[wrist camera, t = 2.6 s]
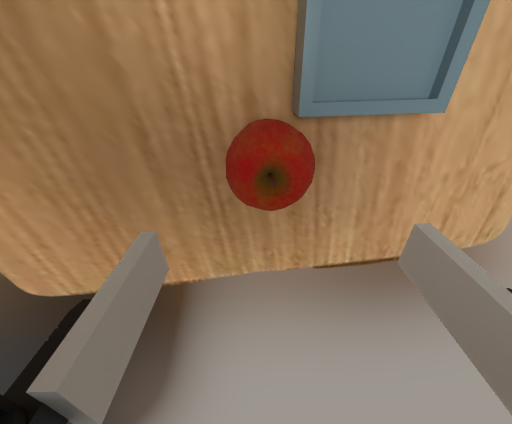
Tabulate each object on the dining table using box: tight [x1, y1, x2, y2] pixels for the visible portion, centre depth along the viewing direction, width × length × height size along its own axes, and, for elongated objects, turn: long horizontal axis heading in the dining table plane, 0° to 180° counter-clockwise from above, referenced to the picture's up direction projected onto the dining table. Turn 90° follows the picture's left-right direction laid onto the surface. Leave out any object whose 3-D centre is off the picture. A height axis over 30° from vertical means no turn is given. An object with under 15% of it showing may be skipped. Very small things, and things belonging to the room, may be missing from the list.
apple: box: [226, 119, 315, 211], centre depth 22 cm, size 9×8×11 cm
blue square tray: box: [292, 0, 490, 117], centre depth 19 cm, size 14×14×4 cm
